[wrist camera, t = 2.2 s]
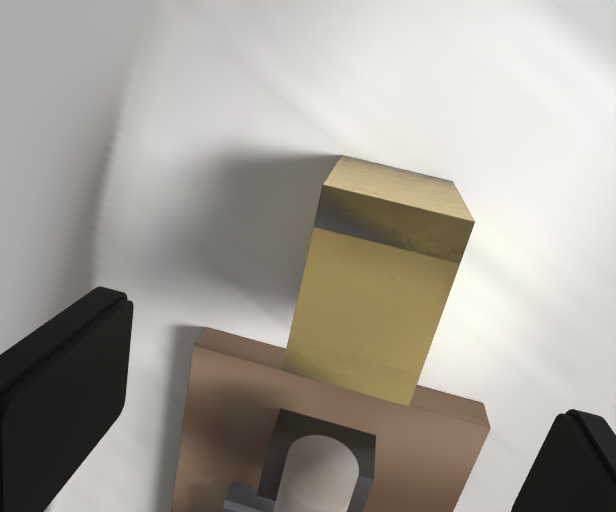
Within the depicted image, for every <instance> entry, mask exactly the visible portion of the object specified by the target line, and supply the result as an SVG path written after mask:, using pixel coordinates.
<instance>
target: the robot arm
mask: <svg viewBox="0 0 616 512" xmlns="http://www.w3.org/2000/svg"><path fill="white" fill-rule="evenodd" d="M132 319H133V302H132V301H129V300H127V295H126V294H125V293H124V292H120V291H116V290H112V289H108V288H105V287H100V286H99V287H97V288H95V289H94V290H92V291H91V292H89V293H88V294H86V295H85V296H84V297H82V298H81V299H79V300H78V301H76V302H75V303H74V304H72V305H71V306H69V307H68V308H67V309H65V310H64V311H62V312H61V313H59V314H58V315H56V316H55V317H54V318H52V319H51V320H49V321H48V322H46V323H45V324H44V325H42V326H41V327H39V328H38V329H36V330H35V331H34V332H32V333H31V334H29V335H28V336H27V337H25V338H24V339H22V340H21V341H19V342H18V343H17V344H15V345H14V346H12V347H11V348H10V349H8V350H7V351H5V352H4V353H2V354H1V355H0V512H44V510H45V509H46V508H47V506H48V505H49V504H50V503H51V501H52V500H53V499H54V498H55V496H56V495H57V494H58V493H59V491H60V490H61V489H62V488H63V486H64V485H65V484H66V483H67V481H68V480H69V479H70V478H71V476H72V475H73V474H74V473H75V471H76V470H77V469H78V467H79V466H80V465H81V464H82V462H83V461H84V460H85V459H86V457H87V456H88V455H89V454H90V452H91V451H92V450H93V449H94V447H95V446H96V445H97V444H98V442H99V441H100V440H101V439H102V437H103V436H104V435H105V434H106V432H107V431H108V430H109V428H110V427H111V426H112V425H113V423H114V422H115V421H116V420H117V418H118V417H119V415H120V414H121V412H122V409H123V407H124V403H125V397H126V386H127V375H128V363H129V352H130V341H131V330H132ZM511 512H616V435H615V434H614V432H613V431H612V429H611V428H610V426H609V425H608V423H607V422H606V421H605V419H604V418H603V417H601V416H598V415H594V414H590V413H586V412H582V411H578V410H574V409H571V410H568V411H567V412H566V413H565V414H559V415H558V416H557V417H556V418H555V420H554V422H553V424H552V426H551V428H550V431H549V433H548V435H547V437H546V439H545V441H544V443H543V445H542V447H541V449H540V451H539V453H538V455H537V457H536V459H535V461H534V463H533V465H532V468H531V470H530V472H529V474H528V476H527V478H526V480H525V482H524V484H523V486H522V488H521V490H520V492H519V494H518V496H517V498H516V500H515V502H514V504H513V507H512V510H511Z"/></svg>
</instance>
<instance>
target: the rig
mask: <svg viewBox="0 0 616 512" xmlns="http://www.w3.org/2000/svg"><path fill="white" fill-rule="evenodd" d="M285 353H286V349H283V348H279V347H276V346H272V345H268V344H265V343H261V342H258V341H254V340H250V339H247V338H243V337H239V336H236V335H232V334H228V333H225V332H221V331H218V330H214V329H210V328H206V329H205V331H204V332H203V334H202V335H201V336H200V338H199V339H198V340H197V342H196V343H195V344H194V346H193V353H192V360H191V368H190V375H189V383H188V390H187V398H186V405H185V413H184V420H183V428H182V435H181V443H180V451H179V458H178V466H177V473H176V481H175V488H174V496H173V503H172V511H171V512H453V510H454V508H455V506H456V504H457V502H458V499H459V497H460V495H461V493H462V490H463V488H464V486H465V484H466V482H467V479H468V477H469V475H470V473H471V471H472V468H473V466H474V464H475V462H476V460H477V457H478V455H479V453H480V451H481V448H482V446H483V444H484V442H485V440H486V437H487V435H488V433H489V431H490V425H489V421H488V418H487V414H486V410H485V407H484V404H483V403H479V402H476V401H472V400H469V399H465V398H461V397H458V396H454V395H450V394H447V393H443V392H439V391H436V390H432V389H429V388H425V387H421V386H418V385H416V388H415V390H414V393H413V396H412V399H411V402H410V404H409V406H405V405H402V404H398V403H395V402H391V401H387V400H384V399H380V398H377V397H373V396H369V395H366V394H362V393H359V392H355V391H351V390H348V389H344V388H341V387H337V386H334V385H330V384H326V383H323V382H319V381H316V380H312V379H308V378H305V377H301V376H298V375H294V374H291V373H287V372H283V371H282V367H283V362H284V358H285Z"/></svg>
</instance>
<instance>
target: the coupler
mask: <svg viewBox="0 0 616 512" xmlns="http://www.w3.org/2000/svg"><path fill="white" fill-rule="evenodd" d="M474 223H475V221H474V219H473V217H472V215H471V213H470V212H469V210H468V208H467V206H466V204H465V203H464V201H463V199H462V197H461V195H460V194H459V192H458V190H457V188H456V187H455V185H454V183H453V181H449V180H445V179H440V178H436V177H432V176H428V175H424V174H419V173H415V172H411V171H407V170H403V169H398V168H394V167H390V166H386V165H382V164H378V163H373V162H369V161H365V160H361V159H357V158H352V157H348V156H344V155H342V156H341V158H340V159H339V161H338V162H337V164H336V165H335V167H334V168H333V170H332V171H331V173H330V174H329V176H328V177H327V179H326V181H325V182H324V184H323V187H322V191H321V196H320V200H319V205H318V209H317V214H316V218H315V223H314V227H313V232H312V236H311V241H310V245H309V250H308V254H307V259H306V263H305V268H304V272H303V277H302V281H301V286H300V290H299V295H298V299H297V304H296V308H295V313H294V317H293V322H292V326H291V331H290V335H289V340H288V344H287V349H286V353H285V358H284V362H283V367H282V371H283V372H287V373H291V374H294V375H298V376H301V377H305V378H308V379H312V380H316V381H319V382H323V383H326V384H330V385H334V386H337V387H341V388H344V389H348V390H351V391H355V392H359V393H362V394H366V395H369V396H373V397H377V398H380V399H384V400H387V401H391V402H395V403H398V404H402V405H405V406H409V404H410V402H411V399H412V396H413V393H414V390H415V388H416V385H417V382H418V379H419V376H420V374H421V371H422V368H423V365H424V363H425V360H426V357H427V354H428V351H429V349H430V346H431V343H432V340H433V337H434V335H435V332H436V329H437V326H438V324H439V321H440V318H441V315H442V312H443V310H444V307H445V304H446V301H447V298H448V296H449V293H450V290H451V287H452V285H453V282H454V279H455V276H456V273H457V271H458V268H459V265H460V262H461V259H462V257H463V254H464V251H465V248H466V246H467V243H468V240H469V237H470V234H471V232H472V229H473V226H474Z"/></svg>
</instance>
